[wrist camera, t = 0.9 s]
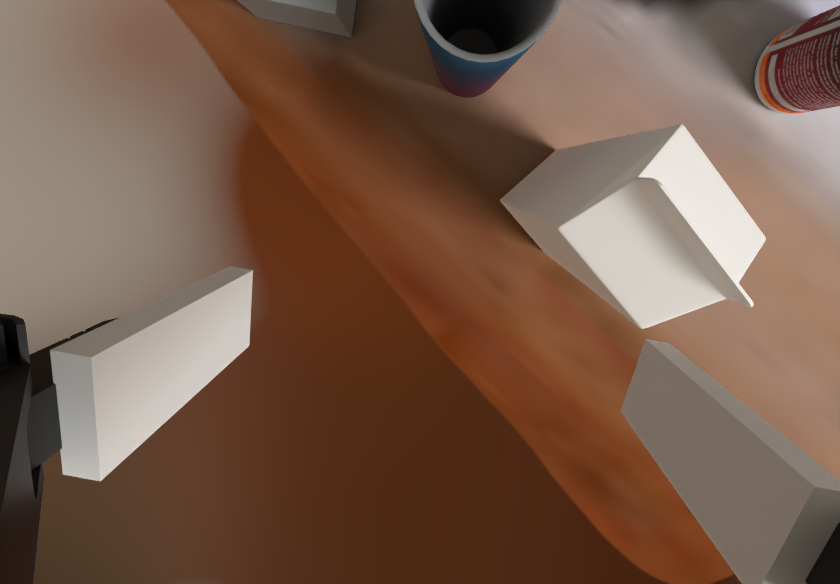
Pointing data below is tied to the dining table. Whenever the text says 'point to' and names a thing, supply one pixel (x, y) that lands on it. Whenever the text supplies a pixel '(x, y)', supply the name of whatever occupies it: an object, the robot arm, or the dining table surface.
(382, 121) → the dining table surface
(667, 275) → the milk
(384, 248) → the dining table surface
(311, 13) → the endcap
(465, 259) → the dining table surface
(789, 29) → the pill bottle
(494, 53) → the cup
